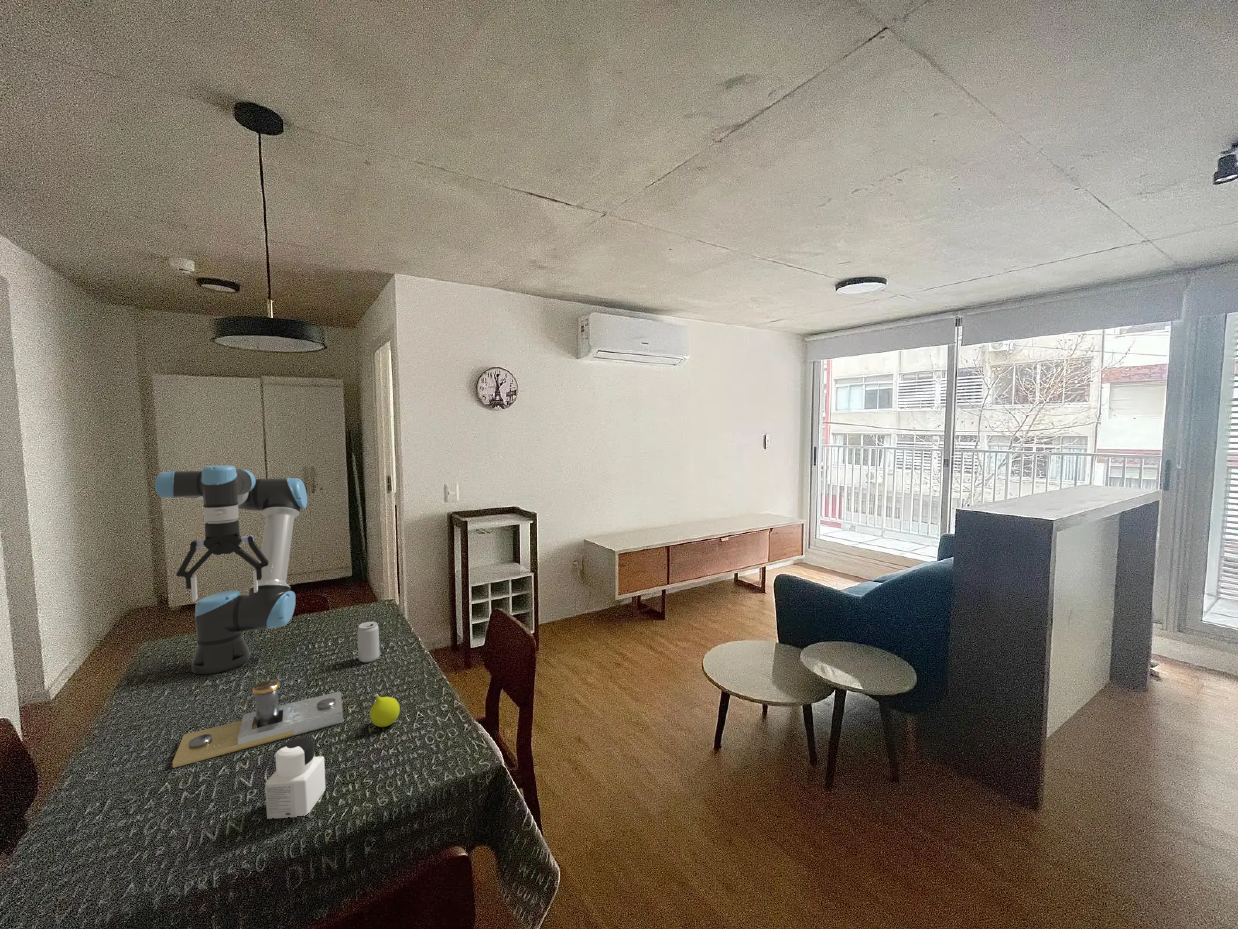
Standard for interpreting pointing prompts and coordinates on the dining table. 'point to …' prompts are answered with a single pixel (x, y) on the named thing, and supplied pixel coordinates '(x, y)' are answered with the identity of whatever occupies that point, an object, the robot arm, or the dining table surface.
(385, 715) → the lemon
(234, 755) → the dining table surface
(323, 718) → the link
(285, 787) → the container
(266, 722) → the pin
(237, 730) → the link
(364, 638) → the beverage can
